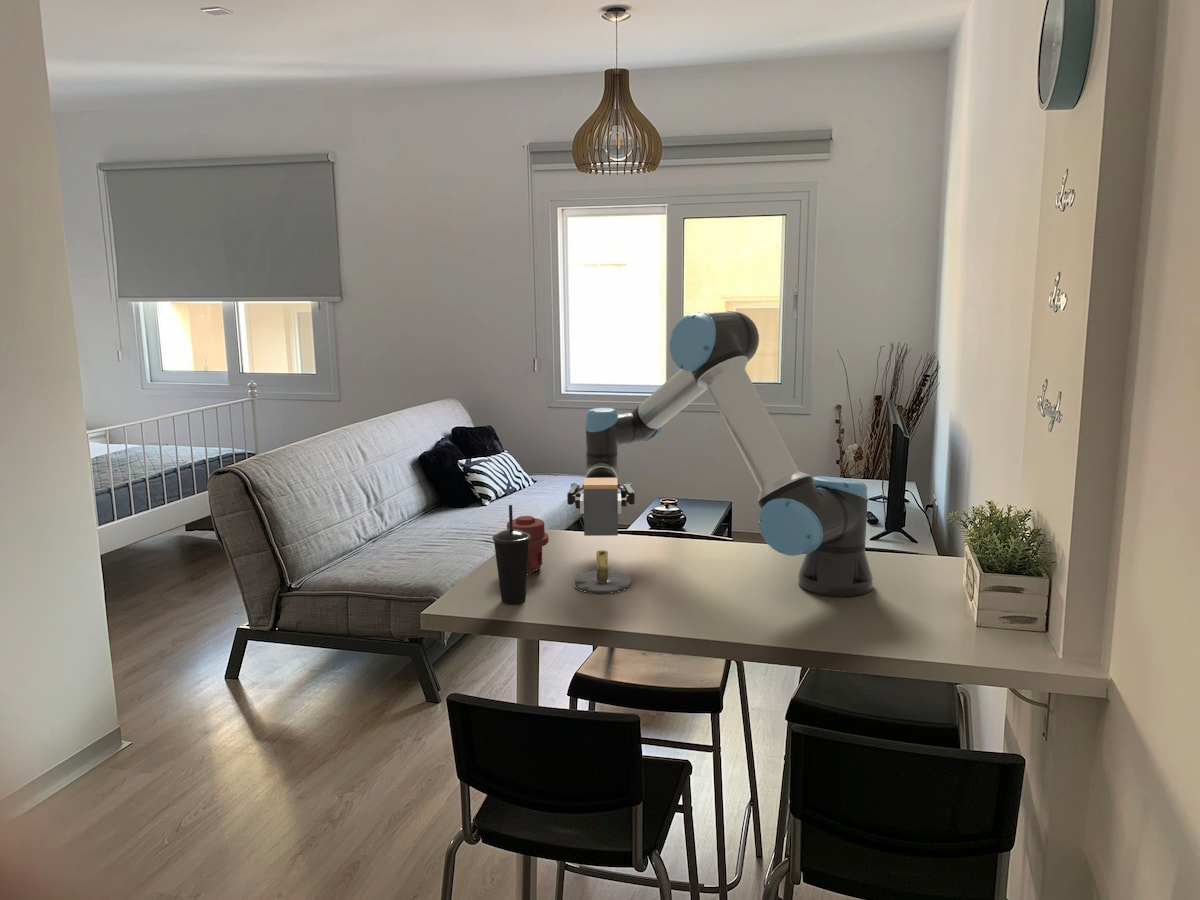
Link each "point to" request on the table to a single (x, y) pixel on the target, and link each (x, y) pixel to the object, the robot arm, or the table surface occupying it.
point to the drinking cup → (512, 562)
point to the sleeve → (600, 507)
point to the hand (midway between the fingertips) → (600, 507)
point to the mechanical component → (532, 539)
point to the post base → (602, 585)
